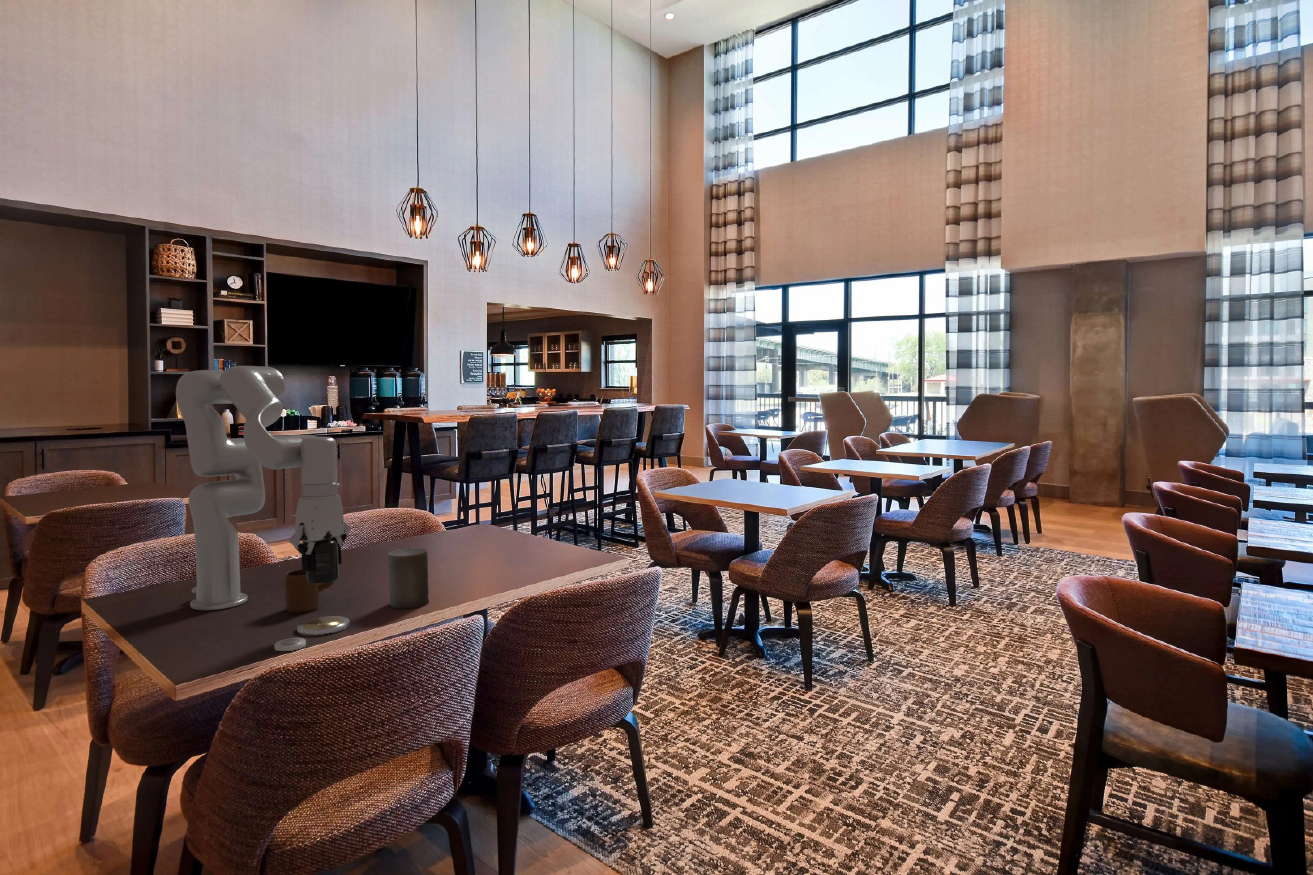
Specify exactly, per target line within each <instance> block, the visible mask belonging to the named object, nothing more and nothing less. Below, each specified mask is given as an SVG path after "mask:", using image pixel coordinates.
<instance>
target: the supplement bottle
mask: <svg viewBox="0 0 1313 875" xmlns="http://www.w3.org/2000/svg"><path fill="white" fill-rule="evenodd" d="M331 537H332V535H331V534H330V531H328V533H327V532H326V536H324V537H323V538H325V539H323V540H321V541H317V542H315V544H314V547H313V550H312V552H311V554H314V571H312V572H309V571H306V576H307V581H308V582H309V583H313V584H321V583H328V582H332V581H334V582H335V581H337V580H338V579H339V577H340V575H339V574H340V571H339V570H340V566H339V565H340V564H338V543H337V542H336V540H334V539H332V538H331ZM307 546H308V544H307ZM307 546H306V547H307Z"/></svg>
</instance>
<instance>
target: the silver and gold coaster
mask: <svg viewBox="0 0 1313 875" xmlns="http://www.w3.org/2000/svg"><path fill="white" fill-rule="evenodd" d="M348 626H349V627H350V619H349V618H348V617H345V616H339V615H329V616H320V617H319V616H318V617H314V618H309V619H308V620H307V619H306V620H304V621H302V622H300V623H299V624H297V626H296V630H297V633H298V635H299V634H300V635H301V636H307V637H317V636H319V635H321V636H325V635H324V634H328V635H330V634H329V633H333V634H337V633H339V631H340V632H342V631H341V630H343V629H345V630H347V629H348V628H349V627H348ZM347 627H348V628H347ZM346 628H347V629H346ZM343 631H344V630H343ZM336 632H337V633H336Z"/></svg>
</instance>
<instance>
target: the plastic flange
mask: <svg viewBox="0 0 1313 875" xmlns="http://www.w3.org/2000/svg"><path fill="white" fill-rule="evenodd" d="M306 646H307V640H306V638H303V637H291V638H290V637H289V638H284V639H281V640H279V641H277V642H275V643H274V651H275V650H276V651H275V652H277V651H292V652H295V651H294V650H296V651H299V650H298V649H300V650H302V649H304V648H305V647H306ZM303 647H304V648H303ZM301 648H302V649H301Z"/></svg>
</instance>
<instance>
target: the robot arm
mask: <svg viewBox="0 0 1313 875" xmlns="http://www.w3.org/2000/svg"><path fill="white" fill-rule="evenodd" d="M285 391H286V380H285V378H284V376H283V374H282V373H281V372H280V371H279V370H278V369H276V368H274V367H272V366H262V365H261V366H257V365H236V366H231V367H228V368H227V369H225V370H217V369H215V370H214V369H212V370H211V369H200V370H193V371H190V372H189V371H188V372H186V373H184V374H182V376H180V377H179V379H178V380H177V384H176V389H175V398H176V403H177V407H178V409H179V412H180V414H181V416H182V419H183V421H184V425H185V430H186V432H185V433H186V437H187V438H186V440H187V445H188V452H189V459H190V460H189V461H190V466H191V468H192V471H193V473H194V474H196V475H197V476H199V477H203V478H204V477H205V478H208V477H209V478H210V477H212V478H213V477H222V476H231V475H234V477H235V479H230V480H227V479H226V480H218V481H210V482H205V483H202V484H199V485H197V486H195V487H194V488H193V489H192V490H191V491H190V493H189V496H188V506H189V511H190V515H191V519H192V523H193V531H194V546H195V565H196V566H195V569H196V570H195V571H196V575H195V576H196V586H195V587H193V588H192V589H191V592H192V593H193V594H195V595H196V596H195V597H196V598H195V599H193V600H192V601H190V603H189V605H190V608H191V609H193V610H197V611H217V610H223V609H229V608H232V607H233V608H234V607H236V606H239V605H243V604H244V603H246V602H247V601H248V595H247V594H246V593H243V592H241V573H240V570H241V569H240V546H239V534H238V530H237V528H236V527H235V526H234V524H232V522H231V521H230V520H229V519H230V518H233V517H237V516H239V517H240V516H244V515H251V514H255V513H257V512H259V511H261V510H262V508H263V507H264V505H265V503H266V489H265V482H264V481H265V480H264V473H263V467H264V468H265V469H268V470H282V469H292V468H300V472H301V473H300V477H301V479H300V480H301V482H300V483H301V497H299V498H298V500H297V504H296V505H297V506H296V511H295V522H294V523H295V525H294V533H293V534H292V535H291V537H290V538H289V539H288V542H289V543H290V544H291V545H292V546H293V547H294V549H295V550H296V551H297V552H298V553H299V554H301V569H302V570H303V571H309V572H312V571H314V554H311V552H312V550H313V547H314V544H315V542H317V541H321V540H323V539H325V538H323V537H324V536H326V532H327V533H328V531H330V534H331V535H332V537H331V538H332V539H334V540H336V542H337V543H338V564H339V565H341V564H342V548H343V547H344V543H345V541H346V539H347V538H348V536H349V533H350V531H351V529H352V528H351V526H350V525H349V524H347V523H346V522H345V521H344V510H343V505H342V498H341V495H340V494H339V490H340V488H341V484H340V483H339V482H338V453H337V452H338V451H337V450H338V448H337V447H338V445H337V442H336V439H334V438H333V437H331V436H316V435H312V434H293V435H292V434H291V435H276V436H273V435H271V433H270V432H268V431H267V429H266V428H267V427H269V426H271V425H272V424H274V423H276V422H277V421H278V420H279V419H280V417H281V415H282V414H283V411H284V410H283V409H284V406H283V403H282V402H281V400H280V398H281V397H282V396H283V395H284V393H285ZM213 404H218V405H220V404H222V405H225V404H227V405H228V404H229V405H230V404H233V405H234V406H235V408H236V409H237V410H238V412H240V414H241V415H242V416H243V418H244V419H245V422H244V425H243V430H242V432H243V437H237V438H228V436H227V431H226V423H225V420H224V419H223V416H222V415H221V414H220V413H219V412H218V411H217V410H216V409H215V408H214V407H213V406H211V405H213ZM338 489H339V490H338ZM307 544H308V546H307ZM306 546H307V547H306Z"/></svg>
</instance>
